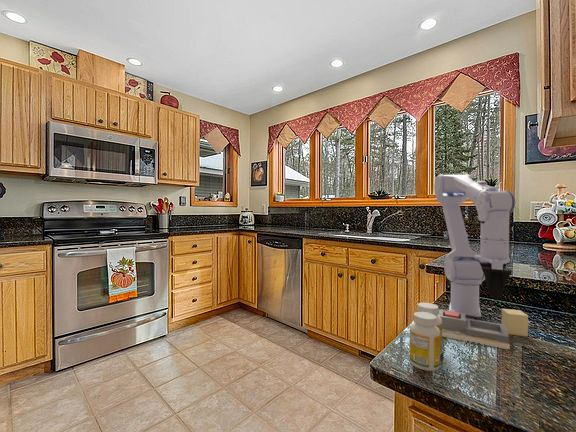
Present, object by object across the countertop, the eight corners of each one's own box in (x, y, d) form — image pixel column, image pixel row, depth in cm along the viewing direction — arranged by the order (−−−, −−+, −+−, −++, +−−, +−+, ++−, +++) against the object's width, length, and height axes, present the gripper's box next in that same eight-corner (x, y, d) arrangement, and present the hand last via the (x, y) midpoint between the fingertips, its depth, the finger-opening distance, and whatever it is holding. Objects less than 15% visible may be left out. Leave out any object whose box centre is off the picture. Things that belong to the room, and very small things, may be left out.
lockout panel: (436, 321, 76) (437, 306, 76) (503, 333, 69) (503, 317, 69) (433, 334, 68) (434, 318, 68) (509, 350, 60) (509, 331, 60)
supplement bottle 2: (416, 371, 52) (417, 320, 52) (404, 357, 57) (405, 310, 57) (446, 372, 52) (446, 320, 52) (431, 357, 57) (431, 310, 57)
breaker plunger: (445, 322, 72) (445, 310, 72) (458, 324, 71) (458, 312, 71) (444, 326, 70) (444, 314, 70) (458, 328, 68) (458, 316, 68)
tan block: (501, 327, 72) (501, 308, 72) (520, 330, 71) (520, 310, 71) (507, 334, 69) (508, 313, 69) (527, 336, 67) (528, 315, 67)
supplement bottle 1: (445, 358, 57) (446, 310, 57) (417, 355, 58) (417, 308, 58) (437, 346, 62) (437, 302, 62) (411, 343, 63) (411, 300, 63)
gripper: (473, 236, 78) (473, 285, 78) (476, 240, 66) (475, 298, 66) (505, 237, 74) (505, 289, 74) (514, 242, 62) (514, 303, 62)
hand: (493, 293), depth 70 cm, fingers open, 7 cm apart
